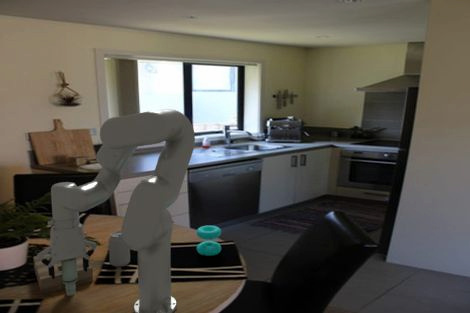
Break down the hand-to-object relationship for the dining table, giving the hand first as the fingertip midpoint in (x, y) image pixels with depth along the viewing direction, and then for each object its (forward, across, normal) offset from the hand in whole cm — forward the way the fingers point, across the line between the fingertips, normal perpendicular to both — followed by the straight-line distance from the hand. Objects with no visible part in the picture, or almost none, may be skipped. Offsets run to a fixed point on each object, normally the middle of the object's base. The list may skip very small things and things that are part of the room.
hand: (69, 273), depth 123 cm
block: (+7, 0, +15) cm, 16 cm away
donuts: (+7, +54, +6) cm, 55 cm away
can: (+7, +20, +14) cm, 25 cm away
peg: (+7, 0, 0) cm, 7 cm away
